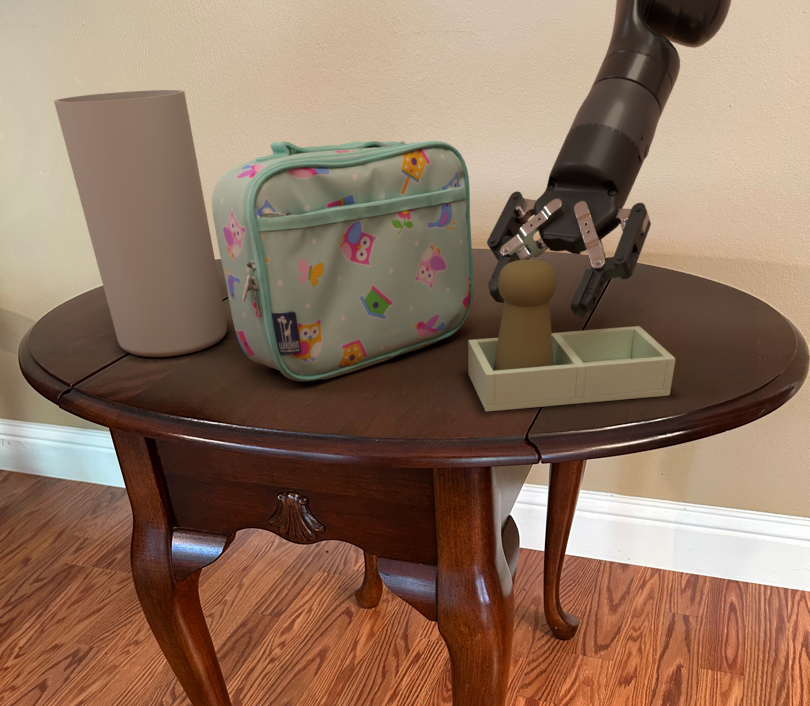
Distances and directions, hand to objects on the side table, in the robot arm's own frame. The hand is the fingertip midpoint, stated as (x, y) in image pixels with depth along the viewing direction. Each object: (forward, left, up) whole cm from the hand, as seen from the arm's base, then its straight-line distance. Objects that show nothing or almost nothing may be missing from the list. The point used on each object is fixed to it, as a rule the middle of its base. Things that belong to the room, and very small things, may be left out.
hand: (535, 305), depth 70 cm
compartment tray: (-3, 0, -8) cm, 8 cm away
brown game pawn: (+1, +1, -7) cm, 7 cm away
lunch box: (+19, -7, -8) cm, 22 cm away
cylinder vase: (+42, -11, -8) cm, 44 cm away
